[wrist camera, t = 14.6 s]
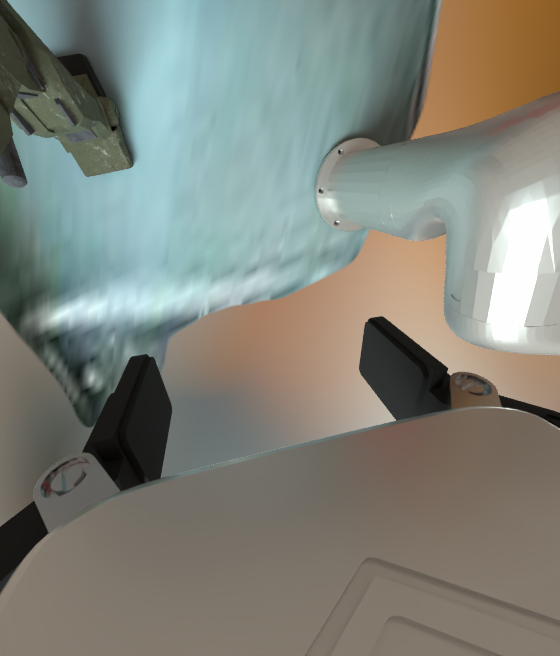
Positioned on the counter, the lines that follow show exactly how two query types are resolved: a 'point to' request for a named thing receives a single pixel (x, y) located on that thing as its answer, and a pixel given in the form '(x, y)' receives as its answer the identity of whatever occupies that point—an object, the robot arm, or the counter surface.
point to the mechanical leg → (53, 103)
